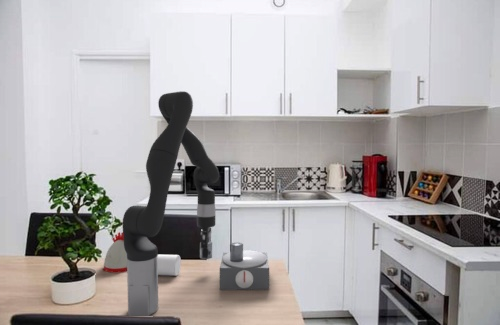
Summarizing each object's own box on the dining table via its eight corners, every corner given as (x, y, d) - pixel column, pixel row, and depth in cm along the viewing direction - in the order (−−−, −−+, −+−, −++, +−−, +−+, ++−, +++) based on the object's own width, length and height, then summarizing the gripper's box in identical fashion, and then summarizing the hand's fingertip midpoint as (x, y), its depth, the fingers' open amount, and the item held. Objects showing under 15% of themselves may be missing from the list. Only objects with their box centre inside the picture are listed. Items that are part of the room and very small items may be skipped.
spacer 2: (243, 262, 121) (243, 246, 121) (229, 262, 121) (229, 246, 121) (243, 257, 126) (243, 242, 126) (230, 257, 126) (230, 242, 126)
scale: (269, 290, 118) (269, 266, 117) (219, 290, 118) (219, 266, 117) (266, 271, 135) (266, 250, 135) (223, 271, 135) (223, 250, 135)
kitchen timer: (126, 273, 134) (125, 237, 133) (96, 271, 136) (96, 235, 136) (144, 262, 147) (143, 229, 147) (116, 259, 150) (116, 227, 149)
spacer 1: (211, 259, 132) (211, 244, 131) (199, 259, 132) (199, 244, 131) (212, 255, 137) (212, 241, 136) (200, 255, 137) (200, 241, 136)
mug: (175, 278, 128) (174, 258, 128) (150, 277, 129) (150, 258, 129) (184, 267, 140) (183, 249, 140) (161, 266, 141) (161, 248, 141)
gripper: (213, 218, 126) (213, 261, 127) (217, 211, 141) (216, 250, 141) (194, 217, 126) (193, 261, 127) (199, 211, 141) (199, 250, 141)
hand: (206, 255), depth 134 cm, fingers closed on spacer 1, 5 cm apart
